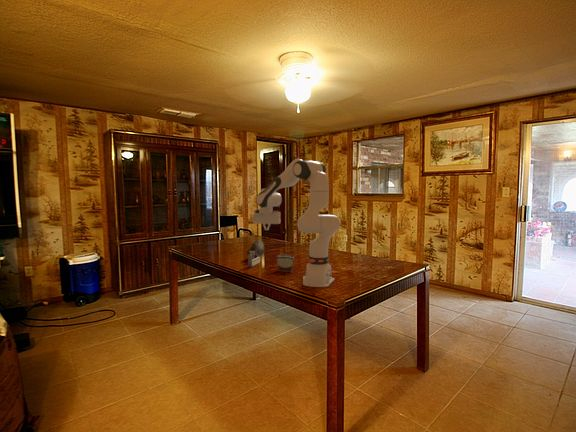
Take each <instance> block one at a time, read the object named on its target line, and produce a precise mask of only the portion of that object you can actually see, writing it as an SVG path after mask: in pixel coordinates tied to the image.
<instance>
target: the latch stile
mask: <svg viewBox="0 0 576 432" xmlns="http://www.w3.org/2000/svg"><path fill="white" fill-rule="evenodd" d="M254 252H255V251H250V254H251V255H252V260H253V259H255V253H254Z"/></svg>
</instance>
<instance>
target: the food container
mask: <svg viewBox="0 0 576 432" xmlns="http://www.w3.org/2000/svg"><path fill="white" fill-rule="evenodd" d="M275 259H276V261H277V263H276V264H277V270H278V272H291V273H292V272H293V266H294V260H295V257H294V255H292V254H278V255H276V258H275Z"/></svg>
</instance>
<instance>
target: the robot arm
mask: <svg viewBox="0 0 576 432" xmlns="http://www.w3.org/2000/svg"><path fill="white" fill-rule="evenodd" d="M326 172H327V168H326V165H325V164H324V163H323V162H321V161H318V160H317V161H315V160H311V159H308V160H303V159H301V158H295V159H293V160H292V161H291V162H290V163H289V164H288V165H287V166H286V168H285V169H284V171H282V172H281V174H280V175H277V177H275V178H274V179H273V180H272V181H271V182H270V183H269V184H268V185H267V186H266V187H264V188H261V189H260V192H259V193H258V194H257V196H256V198H255V200H256V203H257V205H258V206H259V208H258V209H254V210H253V214H252V223H253V224H256V225H257V224H258V225H261V224H262V226H263V228H264V231H269V230H270V227H271V225H279V224H281V221H282V220H281V215H282V214H281V211H279V210H273V208H275V207H279V206H281V204H282V202H283V197H282V195H281V193H279V192H277V191H279V190H280V189H283V188H284V189H285V188H289V187H291V188H292V187H294V186H295V185H296V184H298V182H300V180H303V181H308V182H309V202H308V207H307V208H306V210H305V212H304V213H303V214H302V215H300V216H299V218H298V219H297V222H296V225H297V228H298V230H299V232H301V233H304V234H318V235H317V237H316V238H314V239H313V240H311V241H310V242H309V250H308V251H309V252H308V253H309V255H308V258H307V259H308V263H307V264H306V271H305V273H304V276H302V285H303V286H306V287H312V288H327V287H329V286H330V285H331V284H332V283H333V282H334V281H335V278H334V277H332V266H331V264H330V263H329V262H330V261H329V259H330V258H329V257H330V256H329V245H330V241H331V238H332V237H333V235H334V234H336V232H338V231H339V230H340V228H341V220H340V218H339V216H337V215H333V214H328V213H327V214H320V212H321V210H323V209H325V208H326V207H328V205H329V202H330V200H329V199H330V182H329V176H328V175H327V173H326ZM266 225H267V227H266Z"/></svg>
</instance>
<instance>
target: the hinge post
mask: <svg viewBox="0 0 576 432" xmlns="http://www.w3.org/2000/svg"><path fill="white" fill-rule="evenodd" d="M247 255H248V254H247ZM247 257H248V258H247V259H248V263H247V264H248V267H247V268H248V269H250V268H251V269H252V268H253V266H252V255H251V254H249V255H248V256H247Z"/></svg>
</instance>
